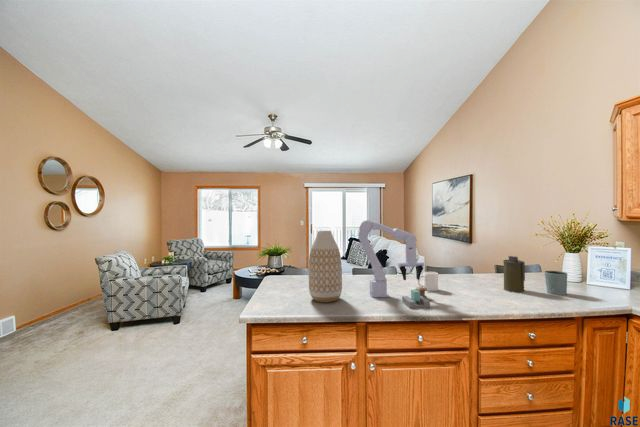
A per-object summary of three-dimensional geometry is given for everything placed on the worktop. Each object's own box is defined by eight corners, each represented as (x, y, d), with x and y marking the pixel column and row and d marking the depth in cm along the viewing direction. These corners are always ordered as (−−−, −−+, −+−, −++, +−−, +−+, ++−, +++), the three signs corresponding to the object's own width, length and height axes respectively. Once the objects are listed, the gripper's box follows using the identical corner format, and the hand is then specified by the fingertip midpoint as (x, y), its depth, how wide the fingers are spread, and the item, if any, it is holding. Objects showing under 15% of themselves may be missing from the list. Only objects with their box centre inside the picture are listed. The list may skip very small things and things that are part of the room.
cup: (440, 291, 172) (440, 274, 172) (420, 291, 172) (419, 274, 172) (435, 287, 180) (434, 271, 180) (415, 287, 180) (415, 271, 180)
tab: (416, 305, 143) (416, 293, 143) (411, 301, 150) (411, 289, 150) (422, 305, 143) (422, 293, 143) (416, 300, 150) (416, 289, 150)
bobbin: (418, 299, 157) (418, 290, 157) (414, 296, 163) (413, 287, 163) (429, 299, 157) (428, 289, 157) (424, 295, 163) (424, 287, 163)
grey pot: (568, 296, 157) (568, 274, 157) (544, 294, 163) (544, 272, 163) (567, 292, 165) (566, 271, 165) (544, 289, 171) (544, 269, 171)
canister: (499, 289, 174) (499, 256, 174) (510, 287, 178) (509, 254, 178) (518, 293, 164) (517, 258, 164) (529, 291, 168) (528, 257, 168)
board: (409, 308, 143) (409, 302, 143) (402, 302, 153) (402, 296, 153) (429, 307, 144) (429, 301, 144) (421, 301, 154) (421, 295, 154)
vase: (340, 305, 149) (338, 232, 149) (305, 303, 153) (304, 232, 153) (344, 295, 167) (343, 229, 167) (313, 294, 171) (312, 230, 171)
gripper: (400, 256, 156) (401, 281, 156) (426, 255, 157) (427, 280, 158) (396, 254, 163) (396, 278, 163) (421, 254, 165) (421, 277, 165)
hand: (411, 279), depth 161 cm, fingers open, 7 cm apart
